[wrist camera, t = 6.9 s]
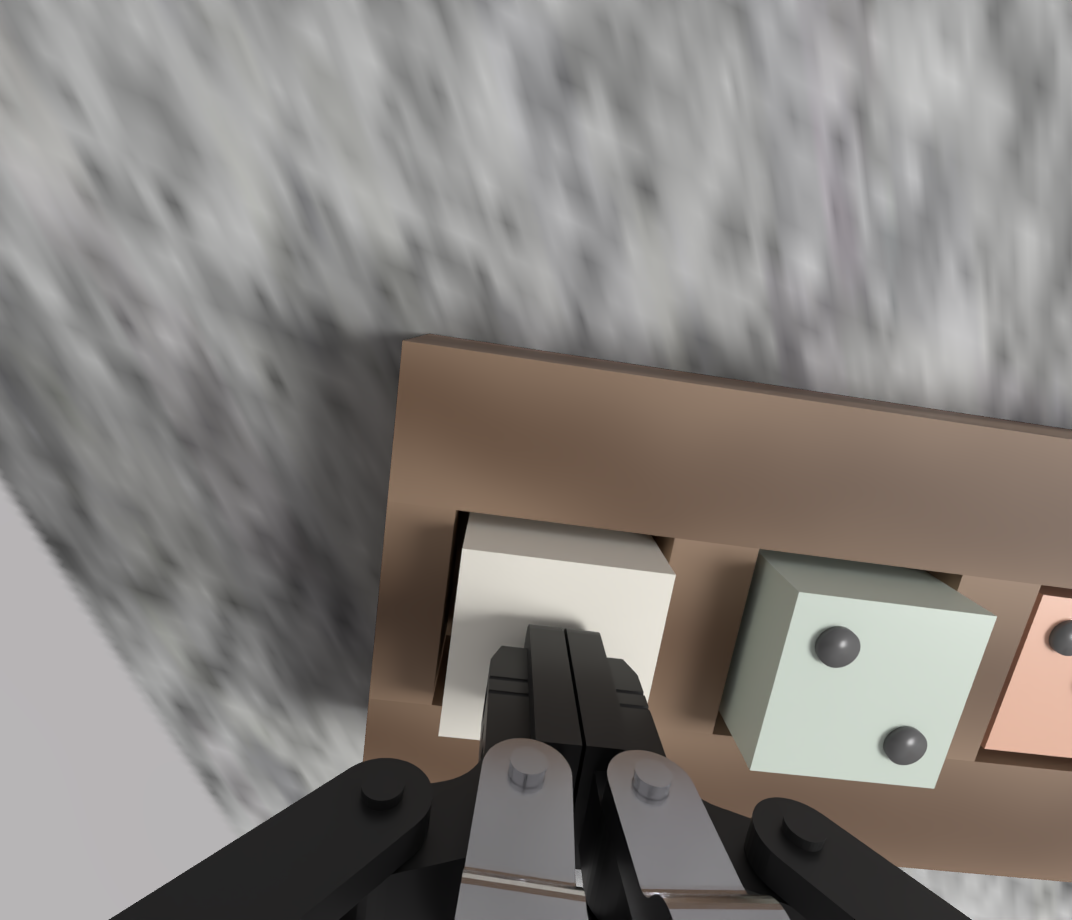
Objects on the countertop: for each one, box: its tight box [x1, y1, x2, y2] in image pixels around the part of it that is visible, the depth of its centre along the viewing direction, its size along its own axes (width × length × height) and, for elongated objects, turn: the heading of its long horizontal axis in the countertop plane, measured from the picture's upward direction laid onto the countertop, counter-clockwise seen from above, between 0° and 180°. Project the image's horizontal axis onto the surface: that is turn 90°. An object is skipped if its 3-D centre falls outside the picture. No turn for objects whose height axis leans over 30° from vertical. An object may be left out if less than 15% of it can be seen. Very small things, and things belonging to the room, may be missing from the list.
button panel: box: [363, 334, 1072, 882], centre depth 16 cm, size 12×22×4 cm, turn 82°
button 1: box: [438, 512, 676, 740], centre depth 14 cm, size 4×4×3 cm
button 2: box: [719, 549, 997, 789], centre depth 14 cm, size 4×4×3 cm
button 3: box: [981, 585, 1072, 758], centre depth 16 cm, size 4×4×3 cm
